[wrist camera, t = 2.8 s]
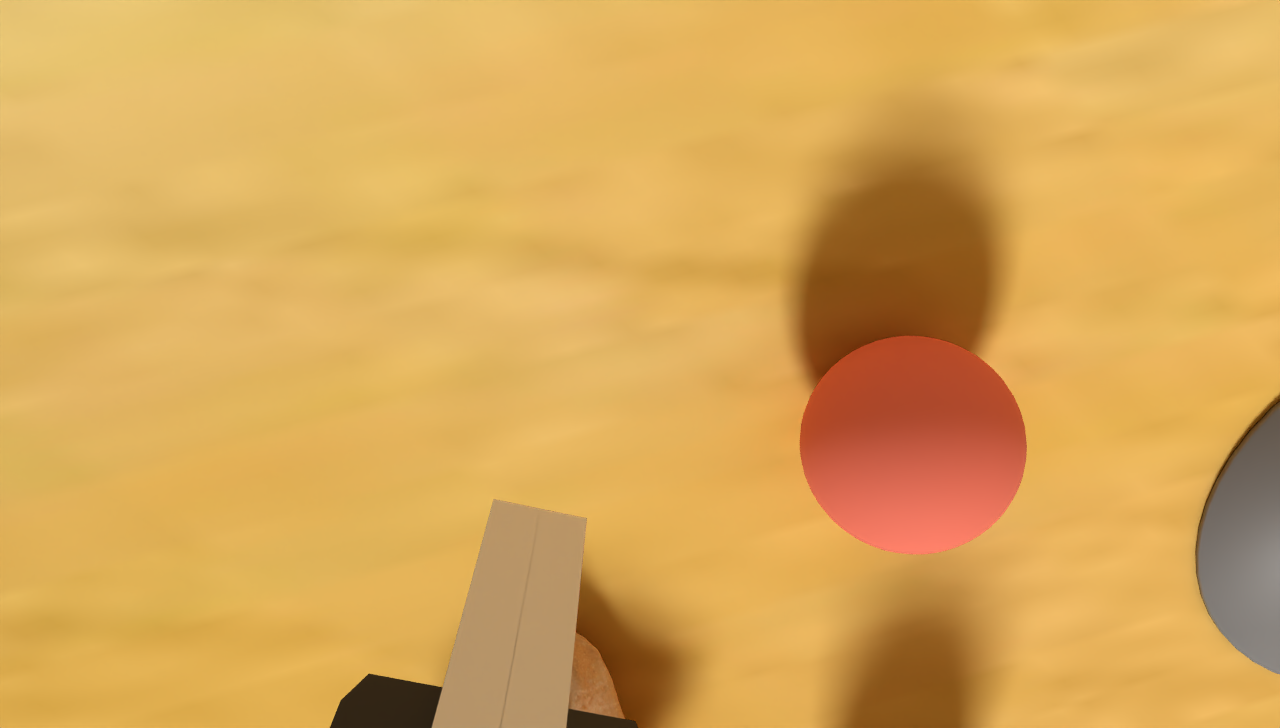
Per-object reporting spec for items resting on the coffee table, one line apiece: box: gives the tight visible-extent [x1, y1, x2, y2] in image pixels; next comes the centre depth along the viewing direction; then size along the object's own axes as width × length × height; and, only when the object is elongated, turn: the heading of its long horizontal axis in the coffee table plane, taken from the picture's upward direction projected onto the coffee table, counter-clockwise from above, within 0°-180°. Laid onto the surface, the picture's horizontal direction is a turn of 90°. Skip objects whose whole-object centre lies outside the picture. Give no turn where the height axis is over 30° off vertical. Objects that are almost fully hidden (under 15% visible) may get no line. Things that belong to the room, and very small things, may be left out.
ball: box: [800, 336, 1027, 554], centre depth 24 cm, size 6×6×6 cm
